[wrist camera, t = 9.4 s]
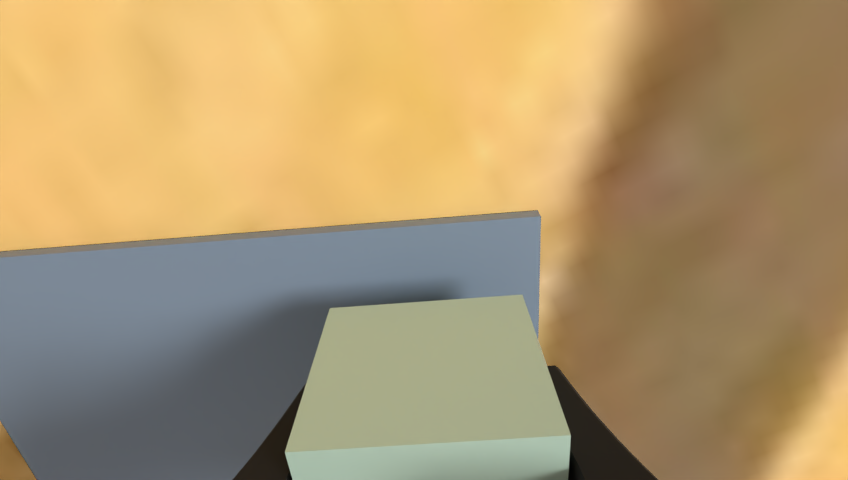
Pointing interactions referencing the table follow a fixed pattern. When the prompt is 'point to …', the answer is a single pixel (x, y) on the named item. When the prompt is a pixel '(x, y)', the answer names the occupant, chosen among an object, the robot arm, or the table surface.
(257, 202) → the table surface
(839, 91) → the table surface
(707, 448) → the table surface
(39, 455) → the board
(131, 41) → the table surface
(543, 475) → the sage block
